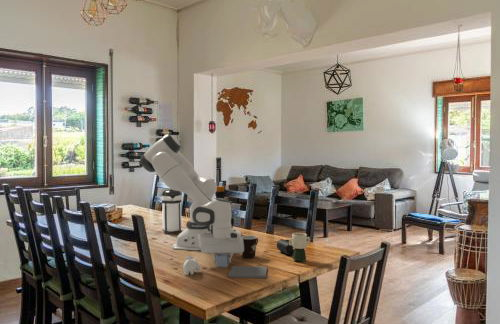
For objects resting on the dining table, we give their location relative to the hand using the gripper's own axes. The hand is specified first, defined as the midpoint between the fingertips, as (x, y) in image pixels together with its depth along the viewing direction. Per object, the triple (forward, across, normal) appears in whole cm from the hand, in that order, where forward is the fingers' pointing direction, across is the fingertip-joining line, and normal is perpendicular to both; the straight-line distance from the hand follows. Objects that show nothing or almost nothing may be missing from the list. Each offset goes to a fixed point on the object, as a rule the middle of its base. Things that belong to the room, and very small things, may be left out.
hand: (222, 262), depth 196 cm
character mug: (+2, +36, +10) cm, 37 cm away
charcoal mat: (+2, +13, -10) cm, 16 cm away
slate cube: (+2, 0, 0) cm, 2 cm away
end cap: (+2, +30, +23) cm, 38 cm away
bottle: (+2, -12, +68) cm, 69 cm away
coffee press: (+2, -45, +72) cm, 85 cm away
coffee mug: (+2, +12, +16) cm, 20 cm away
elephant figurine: (+2, -12, -12) cm, 17 cm away
